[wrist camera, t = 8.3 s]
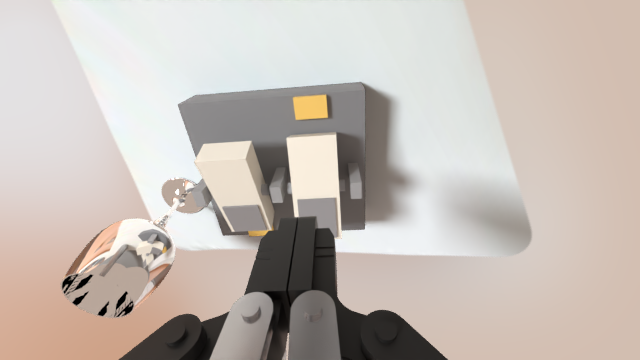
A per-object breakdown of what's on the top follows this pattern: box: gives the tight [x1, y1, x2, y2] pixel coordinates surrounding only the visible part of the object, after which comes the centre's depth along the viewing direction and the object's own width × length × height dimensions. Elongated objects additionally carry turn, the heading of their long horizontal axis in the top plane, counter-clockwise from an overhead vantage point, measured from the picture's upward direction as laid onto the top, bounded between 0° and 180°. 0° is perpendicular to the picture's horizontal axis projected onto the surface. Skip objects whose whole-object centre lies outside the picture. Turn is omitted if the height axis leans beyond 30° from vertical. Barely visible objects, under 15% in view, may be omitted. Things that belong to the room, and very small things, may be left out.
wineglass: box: [61, 178, 203, 318], centre depth 23 cm, size 6×6×12 cm
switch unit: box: [178, 82, 365, 236], centre depth 23 cm, size 13×14×6 cm
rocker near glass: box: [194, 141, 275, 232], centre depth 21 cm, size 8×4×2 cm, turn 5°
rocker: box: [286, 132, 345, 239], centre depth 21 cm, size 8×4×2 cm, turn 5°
